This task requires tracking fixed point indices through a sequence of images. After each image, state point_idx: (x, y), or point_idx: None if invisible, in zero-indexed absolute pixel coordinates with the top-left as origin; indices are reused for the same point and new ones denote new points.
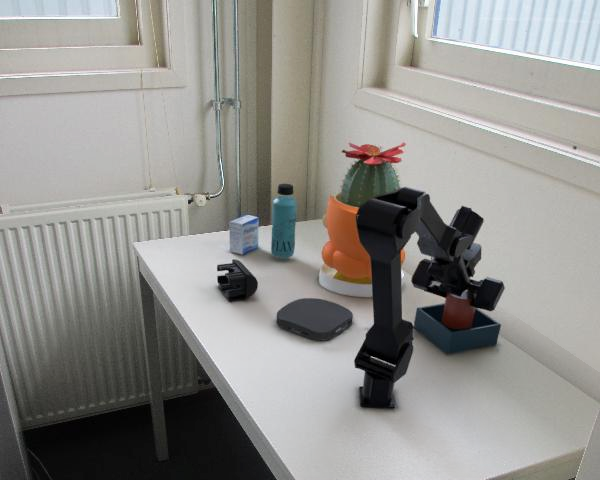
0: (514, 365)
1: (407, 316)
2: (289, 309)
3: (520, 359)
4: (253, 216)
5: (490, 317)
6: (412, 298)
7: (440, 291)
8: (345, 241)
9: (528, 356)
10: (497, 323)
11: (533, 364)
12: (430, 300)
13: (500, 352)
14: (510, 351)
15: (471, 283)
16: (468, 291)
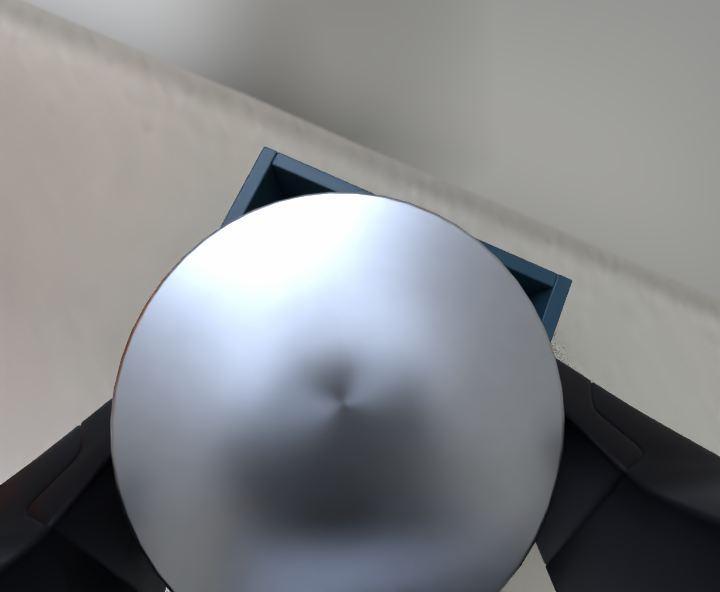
0: (653, 407)
1: (87, 350)
2: None
3: (640, 341)
4: None
5: (486, 244)
6: (19, 170)
7: (140, 589)
8: None
9: (646, 294)
10: (552, 284)
11: (694, 341)
12: (96, 131)
13: (557, 347)
14: (579, 308)
15: (394, 288)
16: (507, 579)
